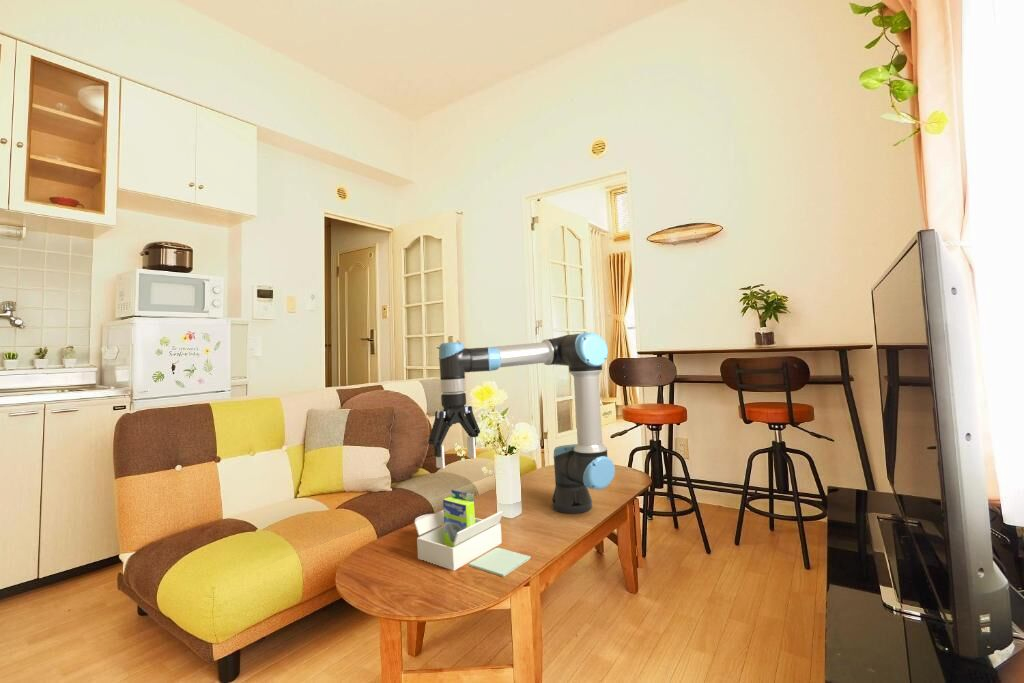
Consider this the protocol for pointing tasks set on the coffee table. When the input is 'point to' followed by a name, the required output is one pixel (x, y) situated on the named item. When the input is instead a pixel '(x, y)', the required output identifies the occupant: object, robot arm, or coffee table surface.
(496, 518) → the flap near
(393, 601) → the coffee table surface
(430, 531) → the candle
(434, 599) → the coffee table surface
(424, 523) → the flap far
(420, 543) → the white open carton
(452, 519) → the box
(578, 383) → the robot arm
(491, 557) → the mat
